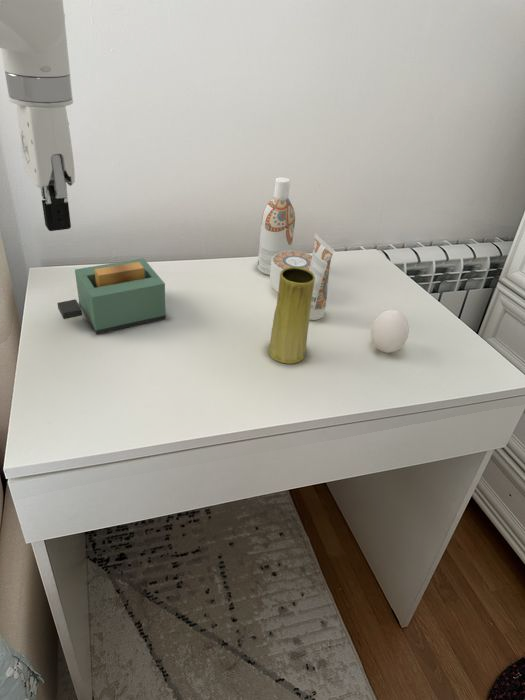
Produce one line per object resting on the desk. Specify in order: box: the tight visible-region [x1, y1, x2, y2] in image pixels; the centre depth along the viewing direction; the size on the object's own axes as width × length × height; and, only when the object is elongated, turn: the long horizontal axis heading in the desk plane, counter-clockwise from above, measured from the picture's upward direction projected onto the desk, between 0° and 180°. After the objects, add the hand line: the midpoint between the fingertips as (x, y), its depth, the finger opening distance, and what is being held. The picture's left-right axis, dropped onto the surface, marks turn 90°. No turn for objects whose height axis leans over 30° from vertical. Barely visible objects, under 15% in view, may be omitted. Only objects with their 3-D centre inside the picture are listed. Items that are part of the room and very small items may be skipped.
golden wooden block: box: [94, 262, 145, 288], centre depth 90 cm, size 8×2×8 cm, turn 120°
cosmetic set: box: [257, 176, 334, 321], centre depth 98 cm, size 25×9×19 cm, turn 22°
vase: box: [267, 267, 315, 365], centre depth 83 cm, size 6×6×14 cm
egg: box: [370, 309, 410, 353], centre depth 88 cm, size 6×6×8 cm
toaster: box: [74, 257, 167, 335], centre depth 91 cm, size 12×10×7 cm
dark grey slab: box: [56, 299, 83, 320], centre depth 87 cm, size 3×4×1 cm
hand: (58, 227), depth 77 cm, fingers closed
